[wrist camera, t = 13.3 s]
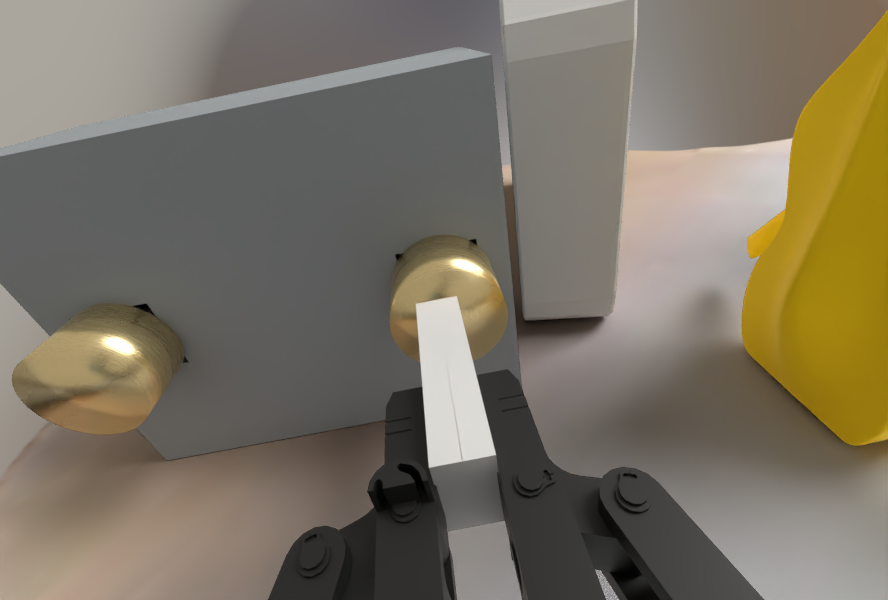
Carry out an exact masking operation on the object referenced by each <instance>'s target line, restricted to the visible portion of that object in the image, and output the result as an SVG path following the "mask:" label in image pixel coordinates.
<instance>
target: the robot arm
mask: <svg viewBox="0 0 888 600" xmlns="http://www.w3.org/2000/svg"><path fill="white" fill-rule="evenodd" d="M416 313H417V326H418V338H419V351H420V363H421V375H422V387H417V388H412V389H407V390H402V391H397V392H393V393H392V395H391V397H390V399H389V401H388V403H387V405H386V425H385V435H386V437H385V465H383V466H382V467H381V468H379V469H378V470H377V471H376V473H375V474H374V476H373V477H372V479H371V480H370V483H369V487H368V491H367V492H368V494H369V496H370V499H371V501H372V503H373V505H374V508H373V509H372V510H371V511H370V512H369V513H368V514H366V515H365V516H363V517H362V518H360V519H359V520H357V521H355V522H353V523H352V524H350V525H348V526H346V527H344V528H342V529H341V530H339V531H338V530H337V529H335V528H332V527H329V526H321V527H315V528H313V529H311V530H309V531H307V532H306V533H304V534H303V535H302V536H301V537H300V538H299V539H298V540H297V541H296V542H295V543H294V544H293V545H292V547H291V549H290V550H289V552H288V554H287V555H286V558H285V560H284V563H283V565H282V567H281V570H280V572H279V575H278V577H277V580H276V582H275V584H274V587H273V589H272V592H271V594H270V596H269V599H268V600H457V595H456V587H455V578H454V569H453V560H452V555H451V552H450V548H449V542H448V533H447V529H448V531H452V530H457V529H462V528H467V527H473V526H478V525H483V524H488V523H494V522H499V521H504V520H505V523H506V527H507V531H508V535H509V542H510V549H511V556H512V560H513V561H514V565H515V569H516V574H517V578H518V583H519V587H520V591H521V596H522V600H606V598H605V596H604V593H603V590H602V588H601V585H600V582H599V580H598V577H597V574H596V572H595V569H596V570H601V571H602V573H603V574H604V576H605V577H606V579H607V581H608V582H609V584H610V585H611V587H612V588H613V590H614V592H615V593H616V595H617V596H618V598H619V599H620V600H764V599H763V598H762V597H761V596H760V595H759V593H758V592H757V591H756V590H755V589H754V588H753V587H752V586H751V585H750V583H749V582H748V581H747V580H746V579H745V578H744V577H743V576H742V575H741V574H740V572H739V571H738V570H737V569H736V568H735V567H734V566H733V565H732V564H731V562H730V561H729V560H728V559H727V558H726V557H725V556H724V555H723V554H722V552H721V551H720V550H719V549H718V548H717V547H716V546H715V545H714V544H713V543H712V541H711V540H710V539H709V538H708V537H707V536H706V535H705V534H704V533H703V531H702V530H701V529H700V528H699V527H698V526H697V525H696V524H695V523H694V521H693V520H692V519H691V518H690V517H689V516H688V515H687V514H686V513H685V512H684V510H683V509H682V508H681V507H680V506H679V505H678V504H677V503H676V502H675V500H674V499H673V498H672V497H671V496H670V495H669V494H668V493H667V492H666V490H665V489H664V488H663V487H662V486H661V485H660V484H659V483H658V482H657V481H656V480H655V479H653V478H652V477H651V476H650V475H648V474H647V473H644V472H642V471H640V470H638V469H635V468H626V467H621V468H616V469H612V470H610V471H609V472H608V473H607V474H605V475H604V476H603V478H594V477H586V476H579V475H574V474H570V473H568V472H566V471H564V470H562V469H560V468H559V467H557V466H556V465H555V464H554V463H553V462H552V461H551V460H550V459H549V458H548V456H547V454H546V452H545V450H544V447H543V444H542V442H541V439H540V436H539V434H538V431H537V428H536V425H535V423H534V420H533V417H532V415H531V412H530V409H529V407H528V404H527V401H526V398H525V397H524V393H523V390H522V387H521V385H520V382H519V380H518V379H517V378H516V377H515V376H514V375H513V374H512V373H511V372H510V371H509V370H508V369H506V370H500V371H495V372H490V373H485V374H480V375H476V372H475V368H474V364H473V360H472V356H471V352H470V347H469V343H468V339H467V335H466V331H465V327H464V323H463V319H462V315H461V311H460V307H459V303H458V299H457V296H453V297H448V298H443V299H438V300H432V301H427V302H422V303H417V304H416Z"/></svg>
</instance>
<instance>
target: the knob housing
mask: <svg viewBox="0 0 888 600" xmlns="http://www.w3.org/2000/svg"><path fill="white" fill-rule="evenodd" d="M435 235H455V236H459V237H463V238H465V239H468V240H470V241H472V242H473V243H475V244H476V245H477V246H479V247H480V248H481V249H482V250H483V251H484V253H485V254H486V255H487V257H488V259H489V260H490V263H491V266H492V268H493V271H494V274H495V276H496V279H497V281H498V284H499V287H500V289H501V292H502V294H503V297H504V300H505V302H506V305H507V310H508V321H507V326H506V329H505V332H504V334H503V336H502V337H501V339H500V341H499V342H498V343H497V344H496V346H495V347H494V348H493V349H491V350H490V351H489V352H488V353H487V354H485V355H484V356H482V357H480V358H479V359H477V360H474V361H473V364H474V368H475V372H476V375H480V374H485V373H490V372H495V371H500V370H506V369H508V370H509V371H510V372H511V373H512V374H513V375H514V376H515V377H516V378H517V379H518V380H519V382H520V385H521V387H522V384H521V373H520V362H519V351H518V340H517V329H516V318H515V307H514V296H513V285H512V274H511V263H510V252H509V241H508V230H507V219H506V208H505V197H504V186H503V175H502V164H501V153H500V143H499V131H498V120H497V110H496V98H495V87H494V76H493V65H492V55H491V54H487V53H483V52H478V51H475V50H471V49H466V48H462V47H456V48H451V49H447V50H441V51H436V52H432V53H427V54H422V55H418V56H413V57H408V58H403V59H398V60H394V61H389V62H384V63H379V64H375V65H370V66H364V67H360V68H355V69H350V70H345V71H341V72H336V73H331V74H326V75H321V76H316V77H312V78H307V79H302V80H297V81H292V82H288V83H284V84H278V85H273V86H268V87H264V88H259V89H254V90H249V91H245V92H240V93H235V94H231V95H225V96H221V97H216V98H211V99H206V100H201V101H197V102H192V103H187V104H183V105H177V106H173V107H168V108H163V109H158V110H153V111H149V112H144V113H139V114H134V115H129V116H124V117H120V118H115V119H110V120H106V121H100V122H96V123H91V124H86V125H82V126H78V127H74V128H71V129H67V130H64V131H60V132H57V133H53V134H50V135H46V136H43V137H39V138H36V139H32V140H29V141H25V142H22V143H18V144H15V145H11V146H8V147H4V148H1V149H0V284H1V285H2V286H4V288H5V289H6V290H7V291H8V292H9V293H10V294H11V295H12V296H13V297H14V298H15V299H16V300H17V302H18V303H19V304H20V305H21V306H22V307H23V308H24V309H25V310H26V311H27V312H28V313H29V314H30V315H31V317H32V318H33V319H34V320H35V321H36V322H37V323H38V324H39V325H40V326H41V327H42V328H43V329H44V330H45V331H46V332H47V333H48V335H49V336H51V335H52V334H54V333H55V332H56V331H57V330H58V329H59V328H61V327H62V326H63V325H64V324H65V323H66V322H68V321H69V320H70V319H71V318H72V317H73V316H75V315H76V314H77V313H78V312H79V311H81V310H82V309H84V308H86V307H89V306H92V305H96V304H103V303H114V304H123V305H128V306H135V305H141V304H146V303H147V305H148V306H149V307H150V309H151V310H152V312H153V313H154V314H155V316H156V317H157V318H159V319H160V320H162V321H163V322H165V323H166V324H167V325H168V326H169V327H170V328H171V329H172V330H173V331H174V332H175V333H176V334H177V336H178V337H179V339H180V340H181V343H182V345H183V349H184V361H183V363H182V365H181V367H180V369H179V370H178V372H177V373H176V375H175V376H174V378H173V379H172V381H171V382H170V384H169V385H168V387H167V388H166V390H165V391H164V393H163V394H162V396H161V397H160V399H159V400H158V402H157V403H156V405H155V406H154V408H153V409H152V411H151V412H150V414H149V415H148V417H147V418H146V420H145V421H144V422H143V423H142V424H141V425H139V426H138V427H136V428H137V430H138V431H139V432H140V433H141V434H142V435H143V436H144V437H145V438H146V439H147V440H148V441H149V442H150V443H151V444H152V446H153V447H154V448H155V449H156V450H157V451H158V452H159V453H160V454H161V455H162V456H163V457H164V458H165V459H166V460H167V461H168V460H173V459H179V458H184V457H190V456H195V455H200V454H206V453H211V452H216V451H222V450H227V449H233V448H238V447H243V446H249V445H254V444H260V443H265V442H270V441H276V440H281V439H287V438H292V437H297V436H303V435H308V434H314V433H319V432H324V431H330V430H335V429H340V428H346V427H351V426H357V425H362V424H367V423H373V422H378V421H384V420H386V405H387V403H388V401H389V399H390V397H391V395H392V393H393V392H397V391H402V390H407V389H412V388H417V387H422V375H421V363H420V362H418V361H416V360H414V359H412V358H411V357H409V356H408V355H406V354H405V353H404V352H403V351H402V350H401V349H400V348H399V347H398V346H397V344H396V342H395V341H394V339H393V336H392V334H391V330H390V303H391V281H392V273H393V269H394V266H395V264H396V262H397V260H398V258H399V257H400V255H401V254H402V253H403V252H404V251H405V250H406V249H407V248H408V247H409V246H411V245H412V244H414V243H415V242H417V241H419V240H421V239H424V238H426V237H430V236H435Z"/></svg>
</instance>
